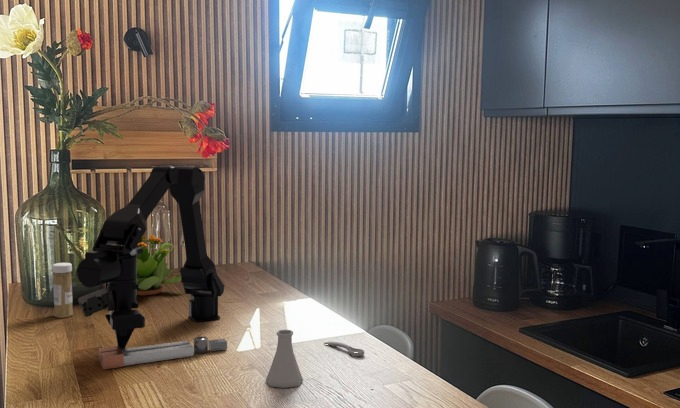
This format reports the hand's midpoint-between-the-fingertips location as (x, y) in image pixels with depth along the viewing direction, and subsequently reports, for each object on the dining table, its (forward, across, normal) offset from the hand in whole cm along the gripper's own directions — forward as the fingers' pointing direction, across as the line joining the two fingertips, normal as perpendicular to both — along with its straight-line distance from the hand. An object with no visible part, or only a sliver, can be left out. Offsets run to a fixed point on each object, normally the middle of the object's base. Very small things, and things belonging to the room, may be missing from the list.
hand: (121, 350), depth 140 cm
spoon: (+1, +15, +45) cm, 48 cm away
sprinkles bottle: (+2, -37, -9) cm, 38 cm away
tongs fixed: (+1, +5, +9) cm, 10 cm away
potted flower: (+2, -53, +15) cm, 56 cm away
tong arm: (+1, +3, +7) cm, 7 cm away
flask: (+1, +26, +26) cm, 37 cm away
